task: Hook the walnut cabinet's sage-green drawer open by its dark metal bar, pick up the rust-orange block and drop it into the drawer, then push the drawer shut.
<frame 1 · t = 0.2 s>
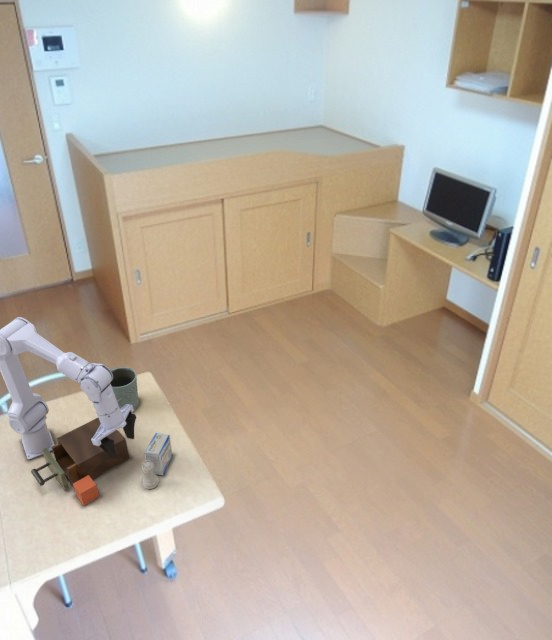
hand: (122, 447, 144), 11 cm above the table, tool pointing down, fingers open, 7 cm apart
medicine box: (160, 464, 152), on the table
cabinet: (96, 457, 154), on the table
rook chess piece: (150, 484, 147), on the table
block: (87, 496, 143), on the table
drawer: (68, 461, 148), point 4 cm above the table, slide at 3.5 cm
grey-green pot: (125, 405, 174), on the table
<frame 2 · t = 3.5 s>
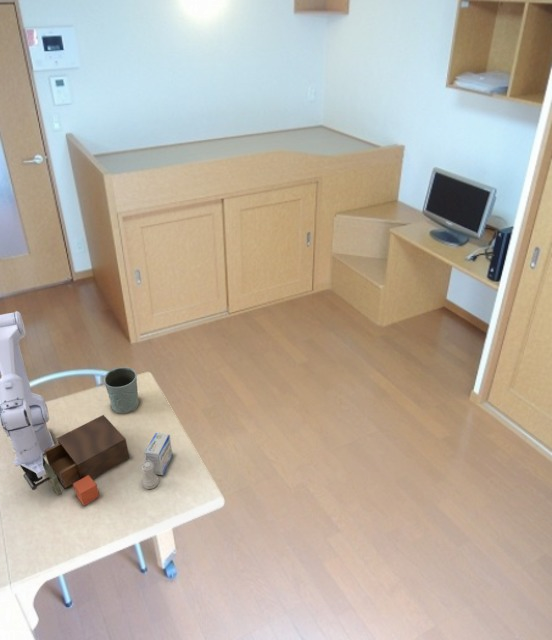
hand: (38, 479, 143), 4 cm above the table, tool pointing down, fingers closed, pressing on drawer
drawer: (61, 465, 147), point 4 cm above the table, slide at 5.6 cm, touching gripper
everything else where it was.
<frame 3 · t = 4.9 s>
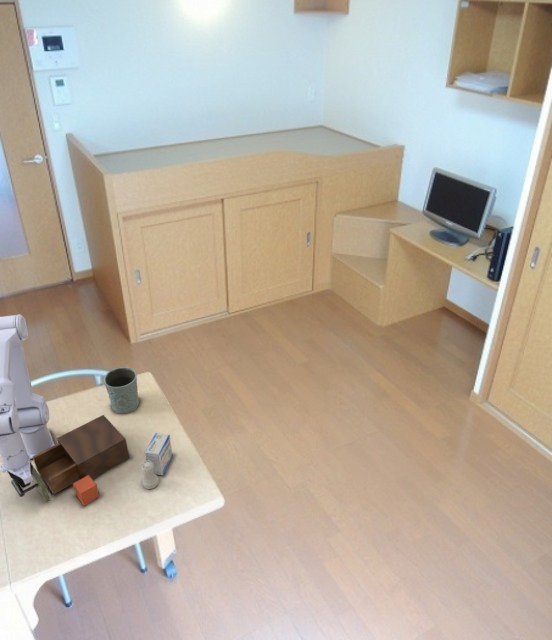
hand: (25, 485, 141), 4 cm above the table, tool pointing down, fingers closed
drawer: (49, 471, 145), point 4 cm above the table, slide at 8.8 cm
everything else where it was.
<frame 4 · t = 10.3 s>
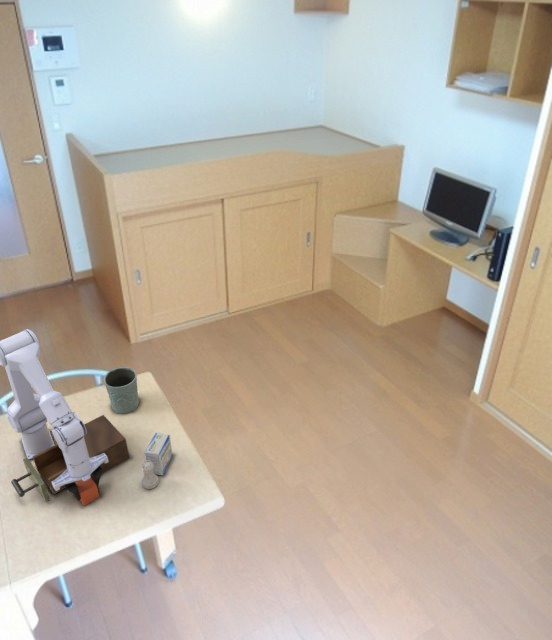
hand: (86, 492, 142), 1 cm above the table, tool pointing down, fingers closed on block, 4 cm apart
block: (88, 496, 143), on the table, touching gripper
everything else where it was.
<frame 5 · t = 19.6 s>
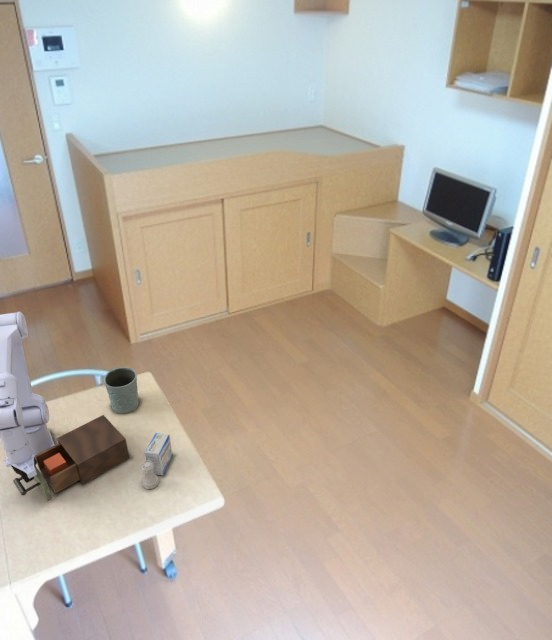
hand: (29, 479, 141), 5 cm above the table, tool pointing down, fingers closed
block: (58, 473, 147), point 2 cm above the table, touching drawer
drawer: (51, 470, 145), point 4 cm above the table, slide at 8.3 cm, touching block
everything else where it was.
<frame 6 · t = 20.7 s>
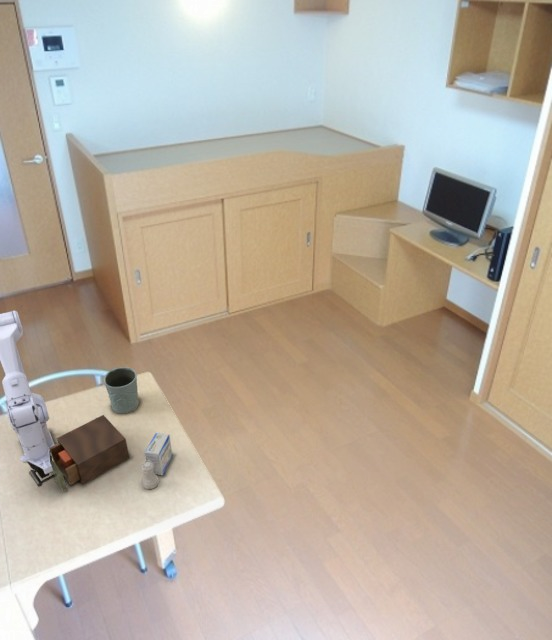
hand: (44, 475, 144), 4 cm above the table, tool pointing down, fingers closed, pressing on drawer
block: (72, 465, 149), point 2 cm above the table, touching drawer
drawer: (66, 462, 148), point 4 cm above the table, slide at 4.1 cm, touching block, gripper
everything else where it was.
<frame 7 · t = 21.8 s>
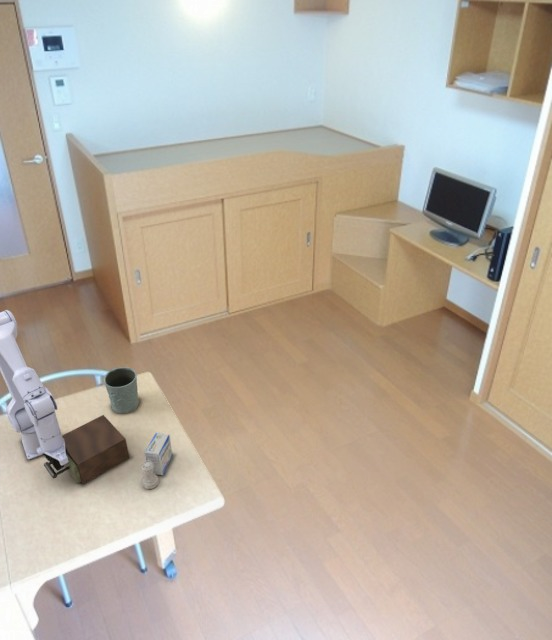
hand: (59, 467, 147), 4 cm above the table, tool pointing down, fingers closed, pressing on drawer
block: (86, 458, 152), point 2 cm above the table, touching drawer
drawer: (80, 455, 150), point 4 cm above the table, slide at 0.0 cm, touching block, cabinet, gripper
everything else where it was.
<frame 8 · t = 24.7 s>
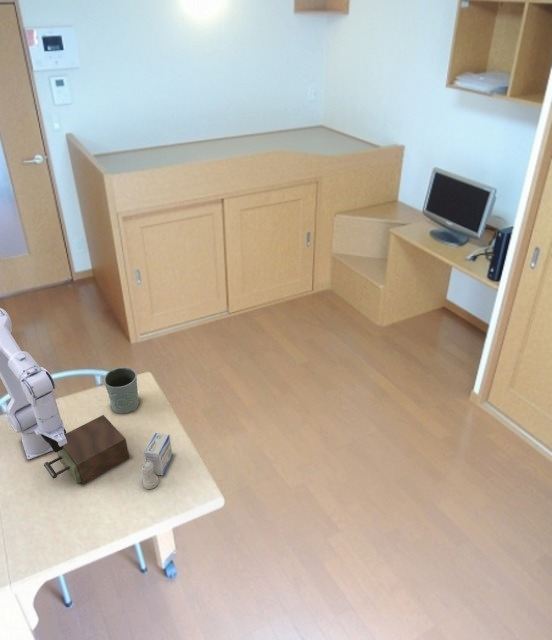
hand: (58, 449, 144), 10 cm above the table, tool pointing down, fingers closed
drawer: (80, 455, 150), point 4 cm above the table, slide at 0.0 cm, touching block
everything else where it was.
at the end: block inside the target area in the cabinet (2.4 cm from its centre), point 1.9 cm above the cabinet's base; drawer slide at 0.0 cm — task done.
